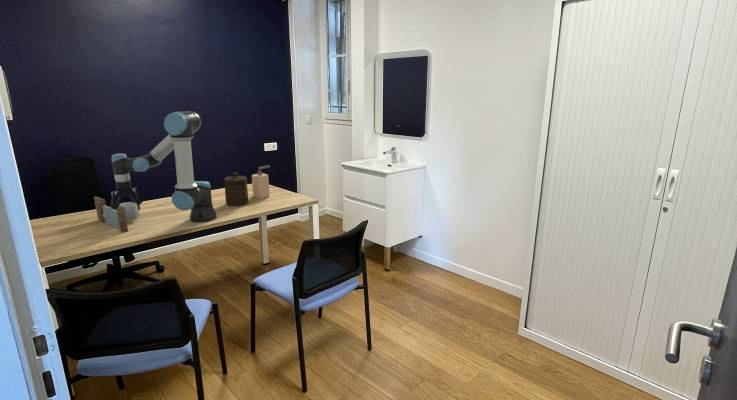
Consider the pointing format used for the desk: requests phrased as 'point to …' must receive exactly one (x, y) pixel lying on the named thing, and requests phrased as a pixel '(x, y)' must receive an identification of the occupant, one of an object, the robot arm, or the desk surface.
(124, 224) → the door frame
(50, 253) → the desk surface
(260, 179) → the soap dispenser
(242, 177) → the wooden container
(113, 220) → the door
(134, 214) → the toilet tissue
